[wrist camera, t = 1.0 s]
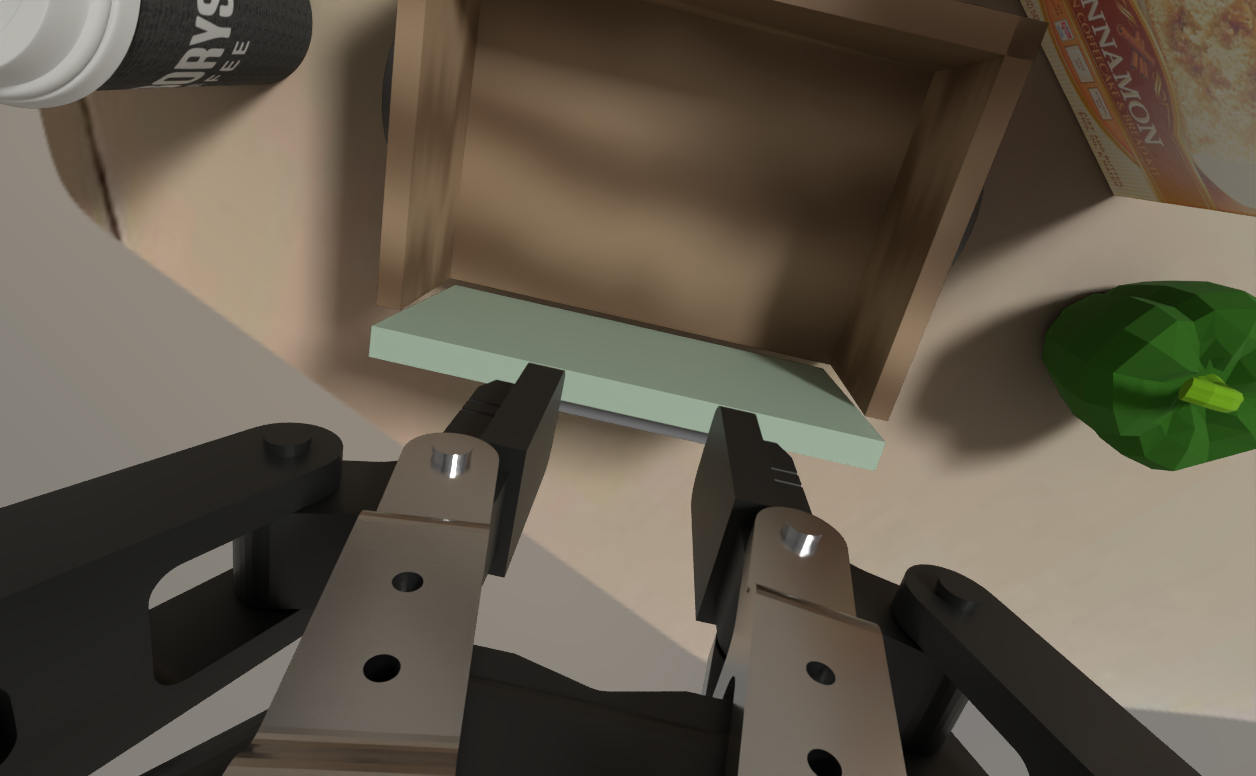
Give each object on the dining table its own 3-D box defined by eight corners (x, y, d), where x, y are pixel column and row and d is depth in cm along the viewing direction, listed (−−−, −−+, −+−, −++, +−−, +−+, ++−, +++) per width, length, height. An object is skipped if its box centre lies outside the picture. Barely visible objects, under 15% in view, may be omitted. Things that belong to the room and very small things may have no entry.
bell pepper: (1221, 327, 34) (1427, 400, 25) (1087, 436, 37) (1227, 539, 27) (1116, 223, 32) (1294, 260, 23) (984, 345, 35) (1096, 421, 26)
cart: (447, -65, 30) (359, -142, 21) (979, 61, 30) (1095, 33, 22) (418, 257, 35) (338, 296, 27) (866, 360, 36) (924, 429, 27)
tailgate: (455, 284, 33) (371, 325, 24) (822, 368, 34) (885, 442, 24) (450, 322, 34) (366, 376, 24) (811, 404, 34) (868, 489, 25)
